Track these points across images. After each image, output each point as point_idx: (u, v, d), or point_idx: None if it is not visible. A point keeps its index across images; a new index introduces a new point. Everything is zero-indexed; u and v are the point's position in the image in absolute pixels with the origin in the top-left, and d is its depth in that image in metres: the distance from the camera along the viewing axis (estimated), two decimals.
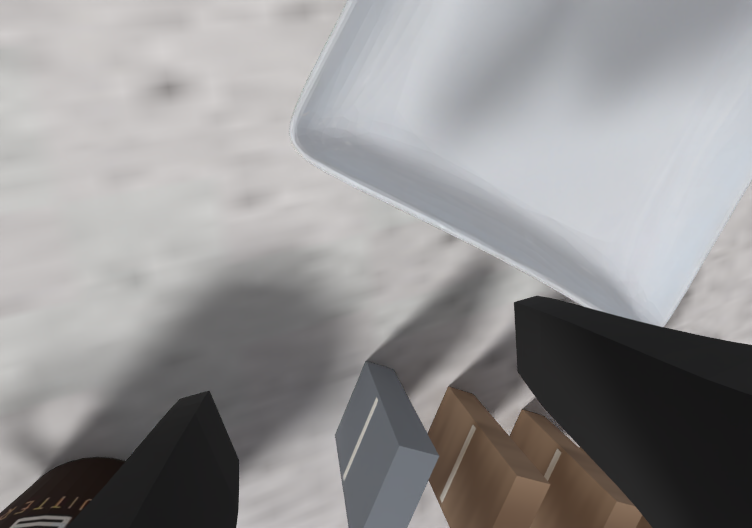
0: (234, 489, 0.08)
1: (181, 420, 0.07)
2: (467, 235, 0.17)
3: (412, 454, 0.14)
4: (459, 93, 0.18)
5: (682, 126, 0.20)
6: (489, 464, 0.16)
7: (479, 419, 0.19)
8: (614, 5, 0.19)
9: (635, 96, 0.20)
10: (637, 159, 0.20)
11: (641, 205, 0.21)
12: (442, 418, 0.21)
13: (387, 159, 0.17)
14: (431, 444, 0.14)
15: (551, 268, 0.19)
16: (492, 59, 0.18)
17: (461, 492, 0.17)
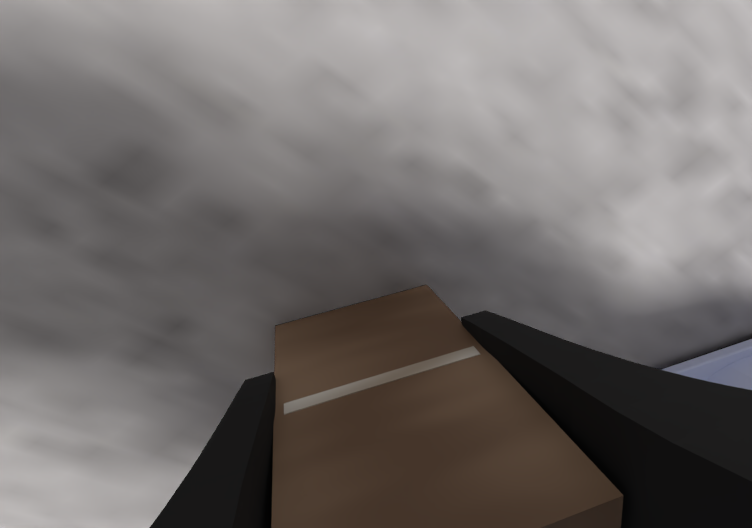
0: None
1: (256, 398, 0.07)
2: None
3: None
4: None
5: None
6: None
7: None
8: None
9: None
10: None
11: None
12: None
13: None
14: None
15: None
16: None
17: None
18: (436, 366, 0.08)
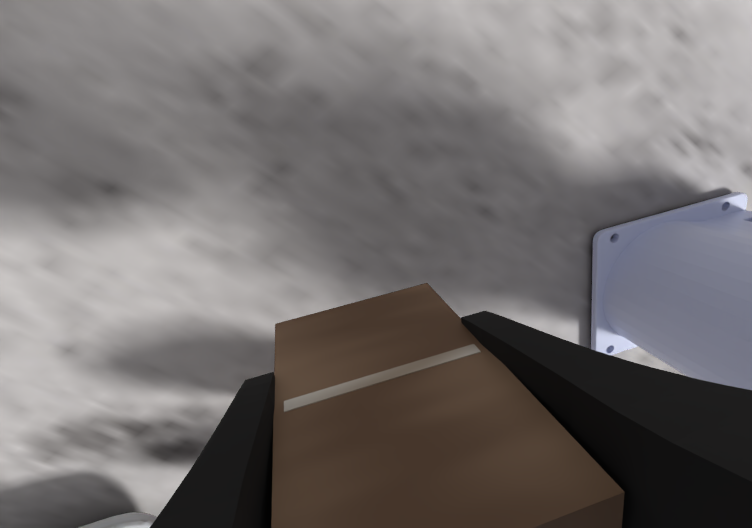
0: None
1: (256, 398, 0.07)
2: None
3: None
4: None
5: None
6: None
7: None
8: None
9: None
10: None
11: None
12: None
13: None
14: None
15: None
16: None
17: None
18: (437, 364, 0.08)
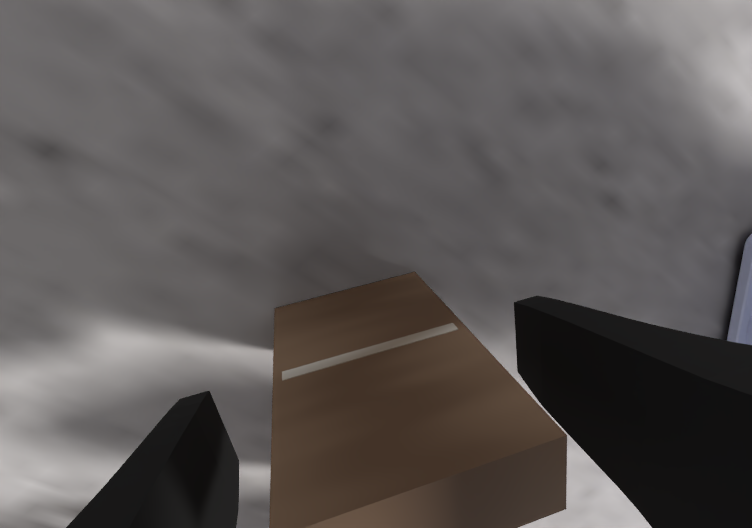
0: (234, 489, 0.08)
1: (181, 420, 0.07)
2: None
3: None
4: None
5: None
6: None
7: None
8: None
9: None
10: None
11: None
12: None
13: None
14: None
15: None
16: None
17: None
18: (418, 340, 0.09)
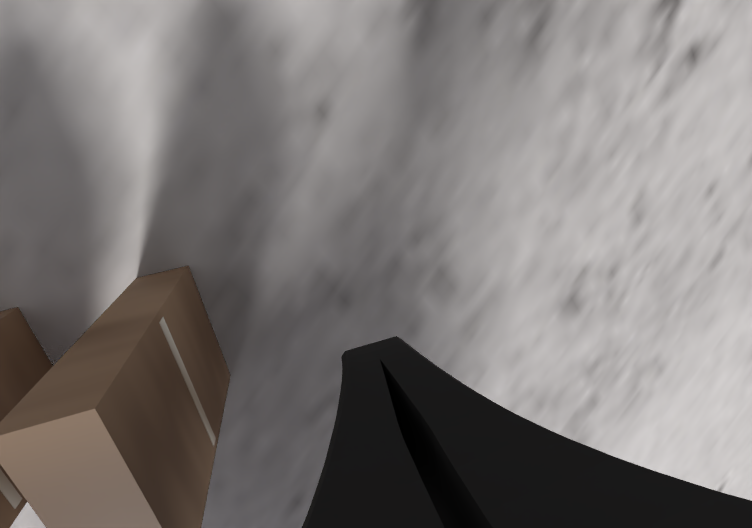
0: None
1: (369, 364, 0.07)
2: None
3: None
4: None
5: None
6: None
7: None
8: None
9: None
10: None
11: None
12: None
13: None
14: None
15: None
16: None
17: None
18: (202, 419, 0.10)
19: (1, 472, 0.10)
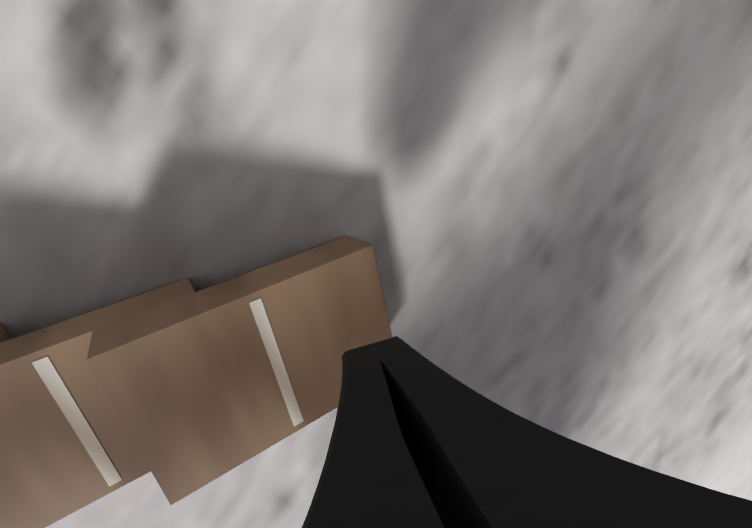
0: None
1: (370, 364, 0.07)
2: None
3: None
4: None
5: None
6: None
7: None
8: None
9: None
10: None
11: None
12: None
13: None
14: None
15: None
16: None
17: None
18: (285, 399, 0.11)
19: (104, 452, 0.10)
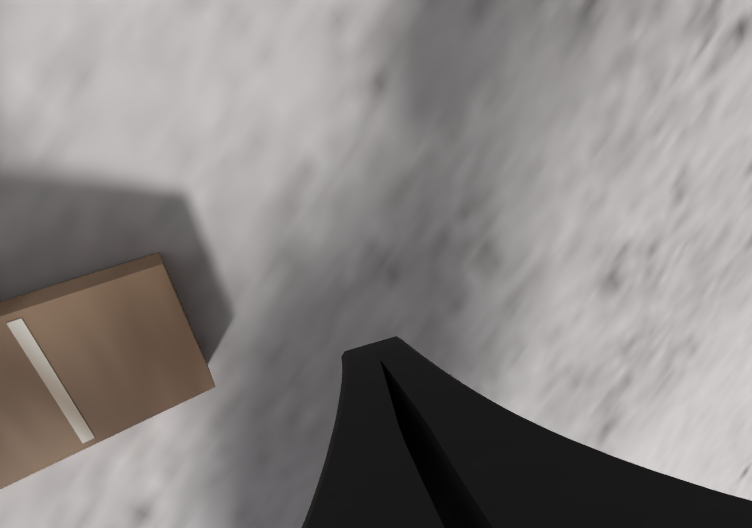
0: None
1: (370, 364, 0.07)
2: None
3: None
4: None
5: None
6: None
7: None
8: None
9: None
10: None
11: None
12: None
13: None
14: None
15: None
16: None
17: None
18: (68, 417, 0.11)
19: None
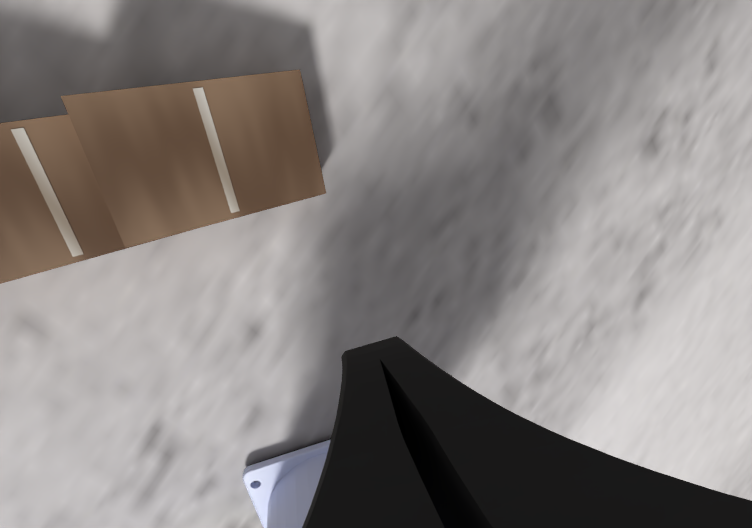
0: None
1: (369, 364, 0.07)
2: None
3: None
4: None
5: None
6: None
7: None
8: None
9: None
10: None
11: None
12: None
13: None
14: None
15: None
16: None
17: None
18: (224, 186, 0.13)
19: (68, 225, 0.12)
